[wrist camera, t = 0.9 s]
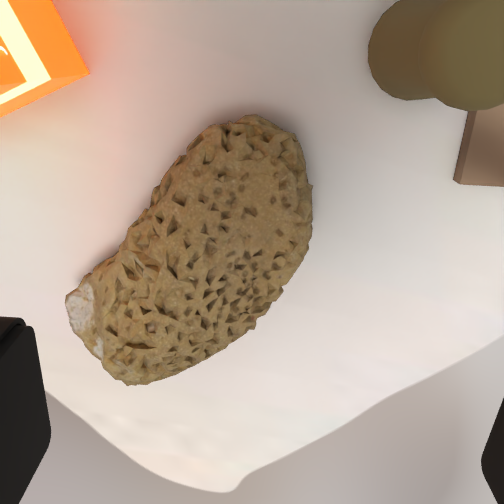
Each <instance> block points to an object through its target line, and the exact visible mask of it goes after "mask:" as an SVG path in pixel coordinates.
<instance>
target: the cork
mask: <svg viewBox="0 0 504 504" xmlns="http://www.w3.org/2000/svg"><path fill="white" fill-rule="evenodd" d="M368 63H369V67H370V70H371V73H372V77H373V78H374V80H375V81H376V82H377V84H378V85H379V87H380V88H381V89H382V90H384V91H385V92H386V93H388V94H389V95H391V96H392V97H395V98H399V99H403V100H419V99H428V98H437V99H438V100H440V101H441V102H443V103H444V104H445V105H447V106H450V107H453V108H457V109H461V110H465V111H478V110H488V109H491V108H494V107H496V106H499V105H501V104H504V0H400V1H398V2H396V3H395V4H394V5H393V6H392V7H390V8H389V9H388V10H387V11H386V12H385V13H384V14H383V15H382V16H381V18H380V20H379V21H378V23H377V24H376V26H375V27H374V29H373V32H372V35H371V38H370V42H369V45H368Z"/></svg>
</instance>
